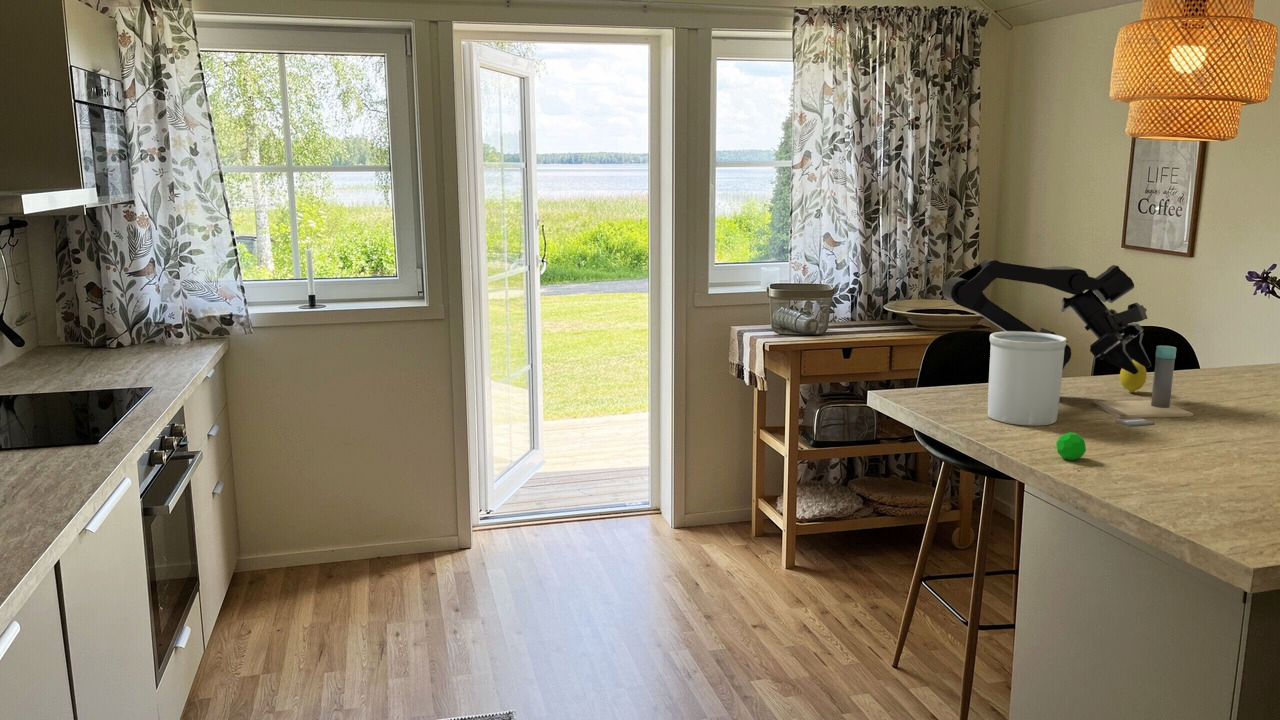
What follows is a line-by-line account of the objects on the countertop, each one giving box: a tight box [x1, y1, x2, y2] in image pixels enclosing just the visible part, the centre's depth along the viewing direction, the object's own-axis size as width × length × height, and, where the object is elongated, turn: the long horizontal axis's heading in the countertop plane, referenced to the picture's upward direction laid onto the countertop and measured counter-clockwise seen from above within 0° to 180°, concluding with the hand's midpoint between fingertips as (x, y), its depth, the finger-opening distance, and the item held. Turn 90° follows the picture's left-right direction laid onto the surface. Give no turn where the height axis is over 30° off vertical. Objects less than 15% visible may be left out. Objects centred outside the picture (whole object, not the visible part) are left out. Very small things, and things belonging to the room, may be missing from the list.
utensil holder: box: [987, 330, 1068, 427], centre depth 204 cm, size 15×15×18 cm
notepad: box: [1090, 399, 1194, 419], centre depth 211 cm, size 16×12×1 cm
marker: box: [1150, 345, 1177, 408], centre depth 211 cm, size 4×4×13 cm
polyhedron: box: [1055, 431, 1087, 461], centre depth 176 cm, size 5×5×5 cm
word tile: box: [1114, 417, 1155, 427], centre depth 201 cm, size 6×4×1 cm, turn 103°
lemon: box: [1119, 359, 1148, 394], centre depth 226 cm, size 6×6×8 cm
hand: (1143, 369), depth 213 cm, fingers open, 9 cm apart
